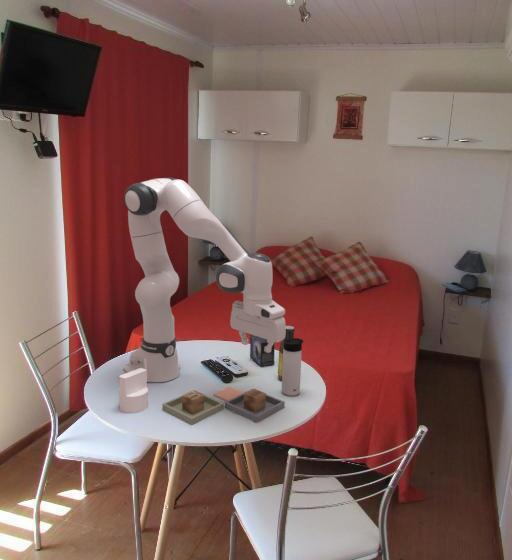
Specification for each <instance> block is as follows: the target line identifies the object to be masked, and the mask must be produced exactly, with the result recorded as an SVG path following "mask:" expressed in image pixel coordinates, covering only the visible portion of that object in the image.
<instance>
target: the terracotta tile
mask: <svg viewBox="0 0 512 560" xmlns="http://www.w3.org/2000/svg"><path fill="white" fill-rule="evenodd" d="M243 393H245V392H244V391H241V390H240V389H237V388H234V387H232V386H227V387H226V388H223V389H221V390H219V391H217V392H214V393H213V395H212V396H214V397H217V398H218V399H220V400H224V401H225V402H226V401H228V400H231V399H233V398H235V397H237V396H239V395H241V394H243Z"/></svg>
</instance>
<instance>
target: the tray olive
mask: <svg viewBox="0 0 512 560" xmlns="http://www.w3.org/2000/svg"><path fill="white" fill-rule="evenodd" d="M194 391H196V390H194ZM198 392H199V391H198ZM199 393H201V392H199ZM201 394H203V395H204V410H202V411H200V412H198V413H196V414H193V415H192V414H190V413H188V412H186V411H184V410H182V395H180V396H178V397H175V398H174V399H171V400H169V401H166V402H164V403H162V411H164V412H166V413H167V414H169V415H172V416H174V417H175V418H178V419H179V420H181V421H184V422H185V423H187V424H189V425H191V426H193V425H195V424H197V423H199V422H201V421H203V420H205V419H207V418H209V417H212V415H216V414H217V413H219V412H221V411H223V410H224V409H225V402H221V401H219V400H217V399H215V398H212V397H211V396H209V395H206V394H204V393H201Z"/></svg>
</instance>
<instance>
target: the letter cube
mask: <svg viewBox="0 0 512 560" xmlns="http://www.w3.org/2000/svg"><path fill="white" fill-rule="evenodd" d="M203 394H204V393H202V394H201V392H200V393H199V391H197V390H195V391H194V390H191V391H189V392H186V393H184V394H182V395H181V396H182V410H184V411H186V412H188V413H190V414H192V415H193V414H196V413H198V412H200V411H202V410H204V395H205V394H204V395H203Z"/></svg>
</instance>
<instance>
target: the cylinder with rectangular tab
mask: <svg viewBox="0 0 512 560" xmlns="http://www.w3.org/2000/svg"><path fill="white" fill-rule="evenodd" d="M118 379H119V382H118V383H119V391H118V393H119V394H118V395H119V409H120V411H122V412H125V413H127V414H128V413H130V414H131V413H132V414H134V413H135V414H136V413H140V412H143V411H145V410H146V409H148V407H149V388H148V382H147V370H145V369H143V368H139V369H136V370H133V371H131V372H128V373H127V372H125V373H124V374H123V373H122V374H119V376H118Z"/></svg>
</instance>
